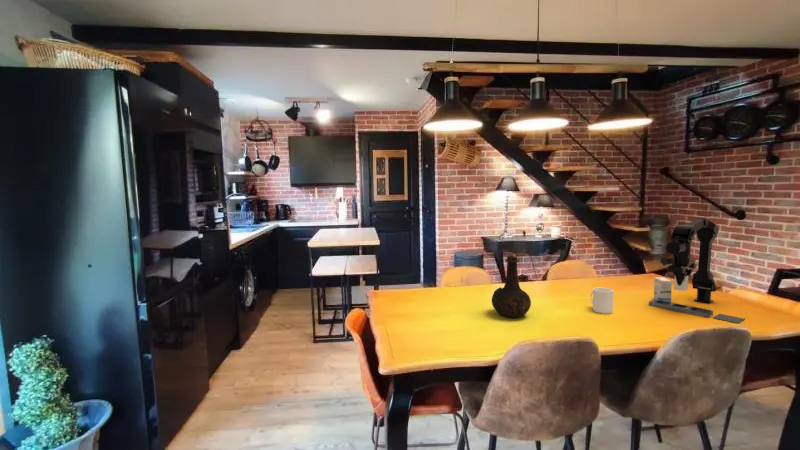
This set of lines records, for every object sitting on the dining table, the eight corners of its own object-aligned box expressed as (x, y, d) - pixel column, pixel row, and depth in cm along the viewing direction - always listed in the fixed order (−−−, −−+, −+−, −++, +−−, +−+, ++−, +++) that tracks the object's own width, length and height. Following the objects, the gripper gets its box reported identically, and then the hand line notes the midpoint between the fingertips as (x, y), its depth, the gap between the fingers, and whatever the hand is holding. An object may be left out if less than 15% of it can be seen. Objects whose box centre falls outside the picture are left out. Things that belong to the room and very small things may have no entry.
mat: (719, 314, 177) (719, 313, 177) (744, 319, 170) (744, 318, 170) (712, 318, 172) (712, 317, 172) (738, 323, 165) (738, 322, 165)
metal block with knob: (677, 288, 186) (678, 272, 186) (687, 289, 183) (688, 274, 182) (674, 289, 184) (674, 273, 183) (684, 291, 180) (685, 275, 180)
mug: (597, 305, 192) (598, 285, 191) (617, 313, 181) (617, 291, 180) (583, 307, 190) (584, 286, 189) (601, 315, 179) (602, 292, 178)
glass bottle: (503, 306, 193) (504, 251, 191) (537, 314, 180) (538, 255, 178) (484, 315, 181) (484, 256, 178) (518, 324, 168) (519, 261, 165)
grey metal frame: (654, 302, 196) (654, 299, 196) (712, 314, 177) (713, 310, 176) (648, 305, 192) (648, 301, 192) (707, 317, 173) (708, 313, 172)
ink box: (671, 303, 194) (672, 281, 193) (660, 303, 195) (661, 280, 194) (663, 299, 203) (664, 277, 202) (653, 298, 204) (654, 276, 203)
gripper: (671, 248, 194) (669, 278, 195) (655, 252, 183) (653, 284, 184) (697, 251, 185) (695, 282, 186) (683, 255, 174) (681, 289, 175)
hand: (681, 284), depth 183 cm, fingers closed on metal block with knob, 4 cm apart
